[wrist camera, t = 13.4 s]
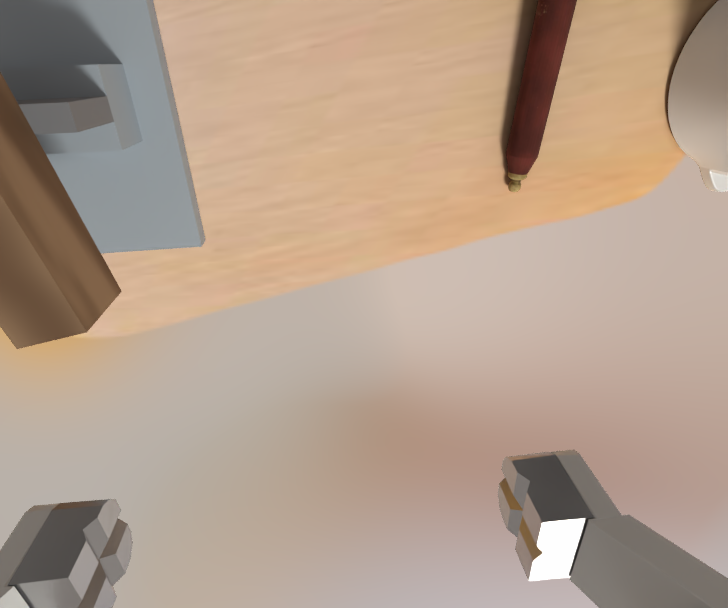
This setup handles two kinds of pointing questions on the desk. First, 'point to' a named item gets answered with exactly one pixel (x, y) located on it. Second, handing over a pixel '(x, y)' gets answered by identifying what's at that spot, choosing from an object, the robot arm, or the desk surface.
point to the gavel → (537, 86)
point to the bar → (43, 243)
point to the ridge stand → (104, 116)
